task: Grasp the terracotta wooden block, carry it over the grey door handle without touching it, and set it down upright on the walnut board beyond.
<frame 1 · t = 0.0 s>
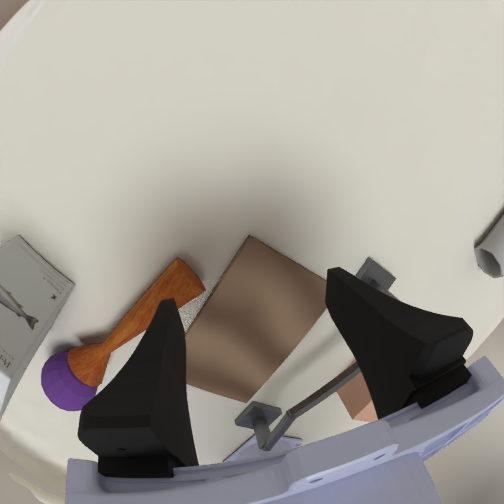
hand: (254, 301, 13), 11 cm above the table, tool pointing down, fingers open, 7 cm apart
walnut board: (246, 333, 27), on the table
block: (355, 374, 32), on the table
grey door handle: (309, 358, 29), on the table
kendama: (114, 329, 25), on the table
supplement box: (33, 284, 21), on the table
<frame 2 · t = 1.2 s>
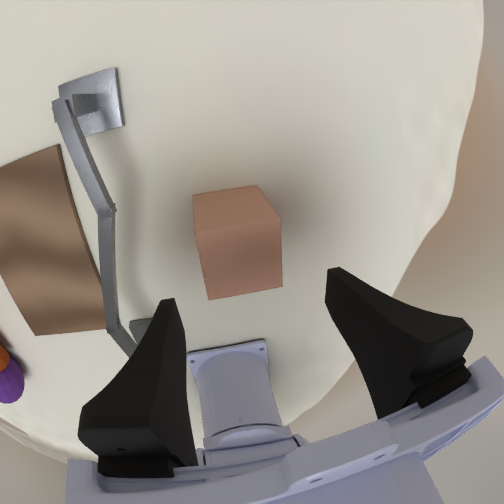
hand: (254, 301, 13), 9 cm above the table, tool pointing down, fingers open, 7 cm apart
walnut board: (38, 256, 19), on the table
block: (228, 218, 21), on the table
grey door handle: (122, 238, 20), on the table
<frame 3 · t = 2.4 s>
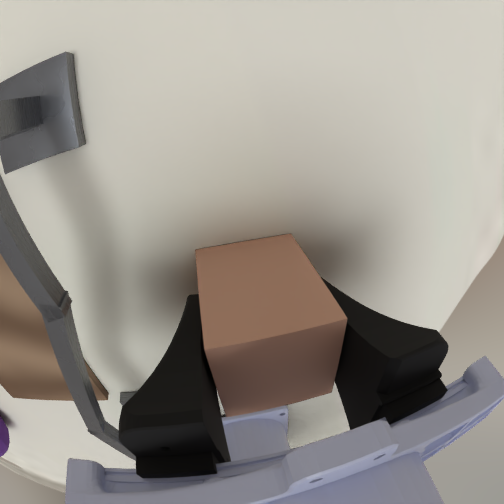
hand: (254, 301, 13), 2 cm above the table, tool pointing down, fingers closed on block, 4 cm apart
block: (248, 280, 15), on the table, touching gripper
grey door handle: (98, 305, 14), on the table
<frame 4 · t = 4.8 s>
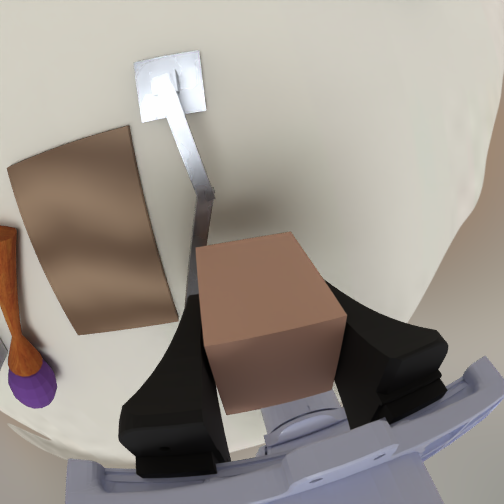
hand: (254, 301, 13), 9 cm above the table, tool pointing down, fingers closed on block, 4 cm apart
walnut board: (92, 247, 20), on the table
block: (248, 278, 15), point 7 cm above the table, touching gripper
grey door handle: (193, 227, 21), on the table
kendama: (25, 315, 22), on the table
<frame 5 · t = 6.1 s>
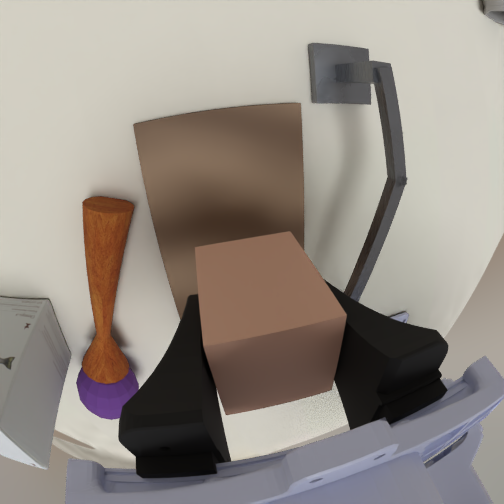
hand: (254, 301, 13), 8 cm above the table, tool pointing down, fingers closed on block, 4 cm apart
walnut board: (231, 227, 20), on the table
block: (247, 278, 15), point 6 cm above the table, touching gripper
grey door handle: (338, 211, 21), on the table
kendama: (109, 309, 22), on the table
supplement box: (30, 324, 21), on the table
when the fingers open (3 cm above the table, at t = 7.3 s): block stays where it is, resting on walnut board.
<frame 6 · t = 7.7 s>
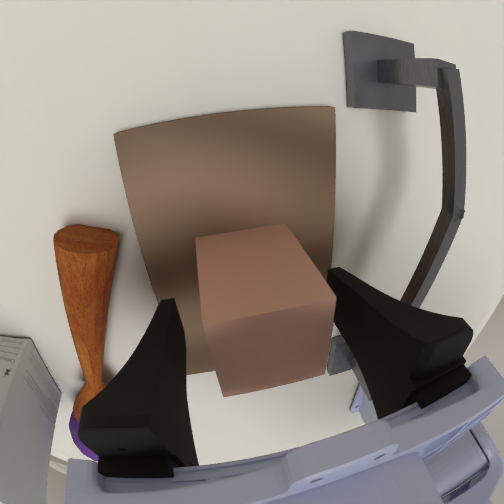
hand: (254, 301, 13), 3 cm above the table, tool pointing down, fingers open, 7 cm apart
walnut board: (242, 264, 16), on the table
block: (245, 268, 16), point 1 cm above the table, touching walnut board
grey door handle: (371, 240, 17), on the table
kendama: (99, 350, 18), on the table
supplement box: (15, 361, 17), on the table
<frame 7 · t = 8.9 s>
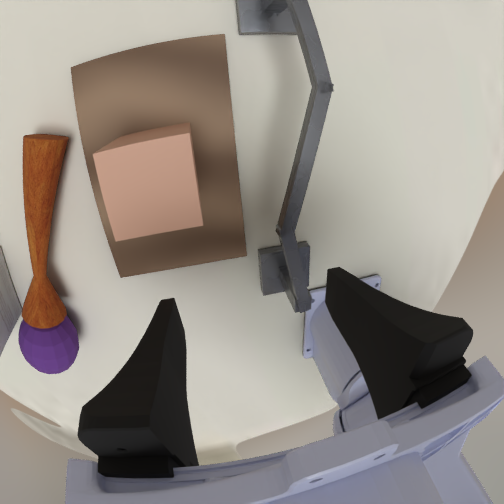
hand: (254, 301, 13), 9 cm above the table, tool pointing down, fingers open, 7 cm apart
walnut board: (160, 161, 18), on the table
block: (160, 162, 18), point 1 cm above the table, touching walnut board
grey door handle: (278, 144, 19), on the table
kendama: (51, 254, 20), on the table
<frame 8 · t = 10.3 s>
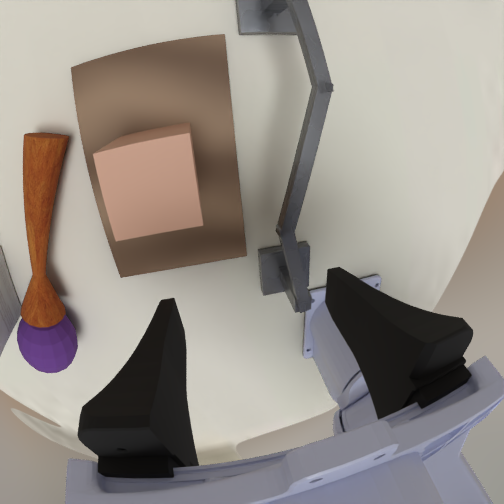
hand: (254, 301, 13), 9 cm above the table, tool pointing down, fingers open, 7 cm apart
walnut board: (160, 161, 18), on the table
block: (160, 162, 18), point 1 cm above the table, touching walnut board
grey door handle: (278, 144, 19), on the table
kendama: (50, 253, 20), on the table
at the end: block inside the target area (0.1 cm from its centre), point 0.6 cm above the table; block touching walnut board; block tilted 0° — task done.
